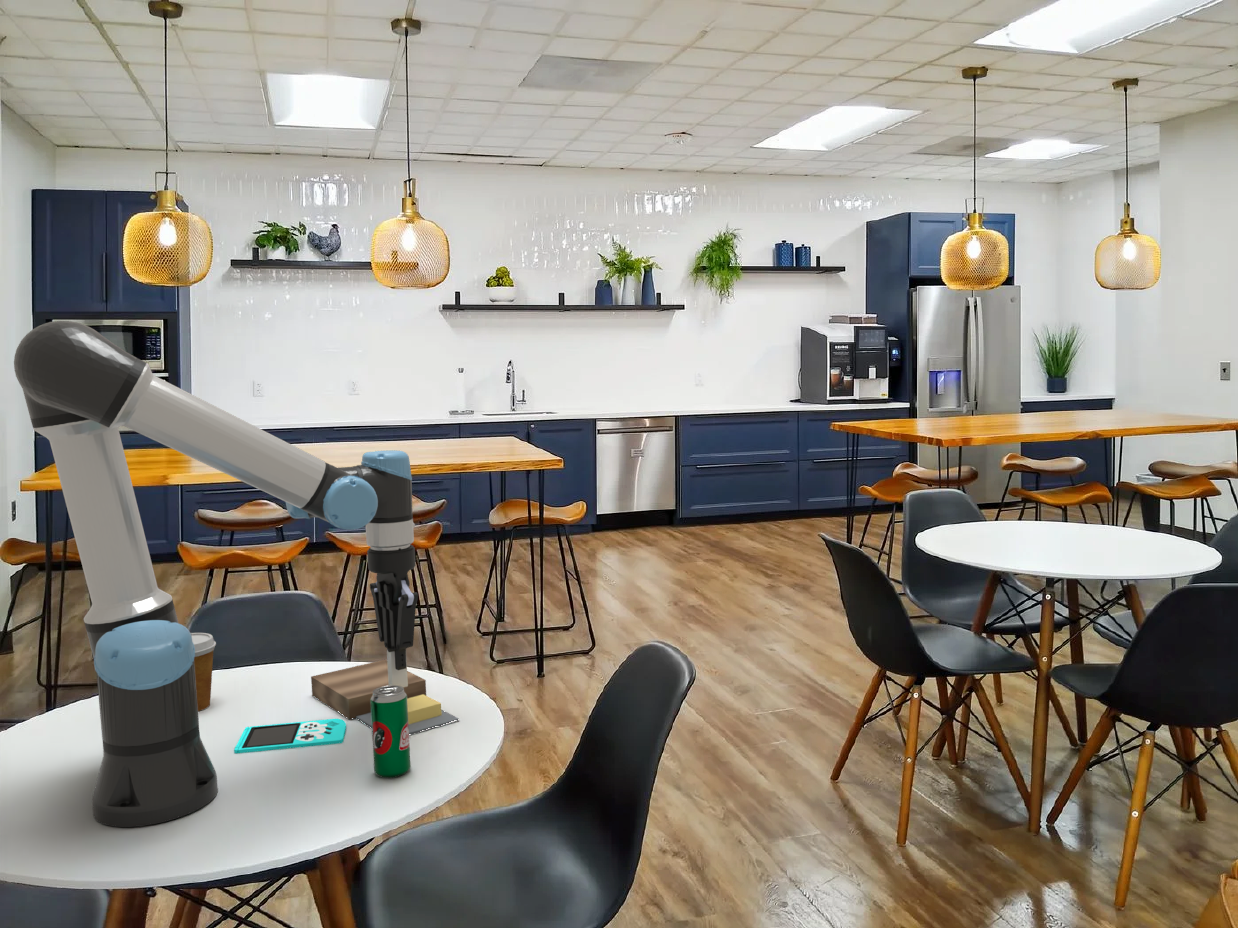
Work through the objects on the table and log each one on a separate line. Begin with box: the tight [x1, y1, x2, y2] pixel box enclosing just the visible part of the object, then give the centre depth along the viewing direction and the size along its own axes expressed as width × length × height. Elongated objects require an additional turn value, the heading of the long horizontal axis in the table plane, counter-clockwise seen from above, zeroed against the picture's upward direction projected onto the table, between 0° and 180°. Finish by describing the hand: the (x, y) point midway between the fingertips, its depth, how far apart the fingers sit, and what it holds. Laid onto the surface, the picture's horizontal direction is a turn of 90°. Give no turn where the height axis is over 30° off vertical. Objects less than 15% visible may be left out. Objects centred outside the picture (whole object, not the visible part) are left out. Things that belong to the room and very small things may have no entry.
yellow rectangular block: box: [407, 694, 442, 724], centre depth 157 cm, size 6×9×2 cm, turn 130°
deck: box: [310, 659, 427, 720], centre depth 168 cm, size 16×14×4 cm
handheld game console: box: [233, 718, 347, 754], centre depth 151 cm, size 10×16×1 cm, turn 101°
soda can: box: [370, 685, 412, 779], centre depth 136 cm, size 5×5×12 cm
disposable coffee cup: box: [190, 632, 217, 712], centre depth 166 cm, size 10×10×12 cm
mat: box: [355, 708, 460, 735], centre depth 157 cm, size 13×12×1 cm
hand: (398, 686), depth 159 cm, fingers closed
